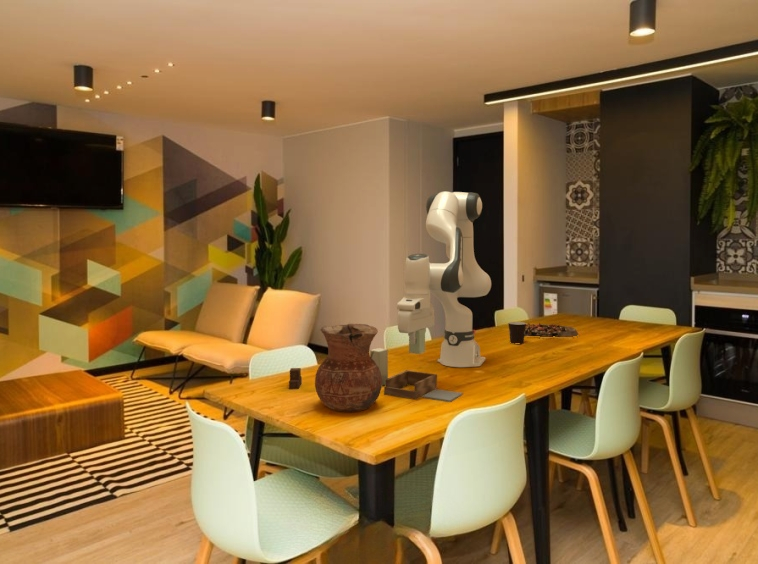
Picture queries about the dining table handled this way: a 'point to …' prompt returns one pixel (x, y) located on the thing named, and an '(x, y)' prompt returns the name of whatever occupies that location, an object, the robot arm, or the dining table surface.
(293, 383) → the stack of crates
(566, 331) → the food dish
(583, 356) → the dining table surface
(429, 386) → the caddy
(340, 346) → the brown clay vase
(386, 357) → the box
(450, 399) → the pad
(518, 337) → the dark brown cup
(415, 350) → the block
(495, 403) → the dining table surface
